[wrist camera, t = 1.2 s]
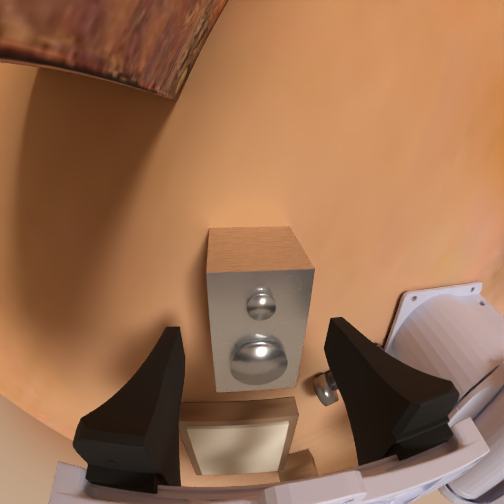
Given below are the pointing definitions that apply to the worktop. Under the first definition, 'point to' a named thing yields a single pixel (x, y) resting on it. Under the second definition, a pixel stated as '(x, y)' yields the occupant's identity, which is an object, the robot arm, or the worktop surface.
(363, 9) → the worktop surface
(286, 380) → the housing
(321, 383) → the loose bolt
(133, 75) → the book
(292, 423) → the stand
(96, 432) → the robot arm
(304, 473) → the walnut block
